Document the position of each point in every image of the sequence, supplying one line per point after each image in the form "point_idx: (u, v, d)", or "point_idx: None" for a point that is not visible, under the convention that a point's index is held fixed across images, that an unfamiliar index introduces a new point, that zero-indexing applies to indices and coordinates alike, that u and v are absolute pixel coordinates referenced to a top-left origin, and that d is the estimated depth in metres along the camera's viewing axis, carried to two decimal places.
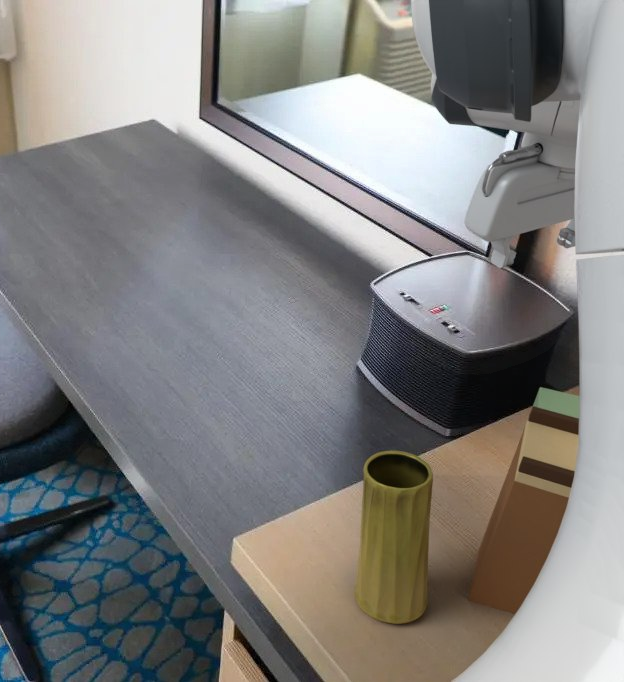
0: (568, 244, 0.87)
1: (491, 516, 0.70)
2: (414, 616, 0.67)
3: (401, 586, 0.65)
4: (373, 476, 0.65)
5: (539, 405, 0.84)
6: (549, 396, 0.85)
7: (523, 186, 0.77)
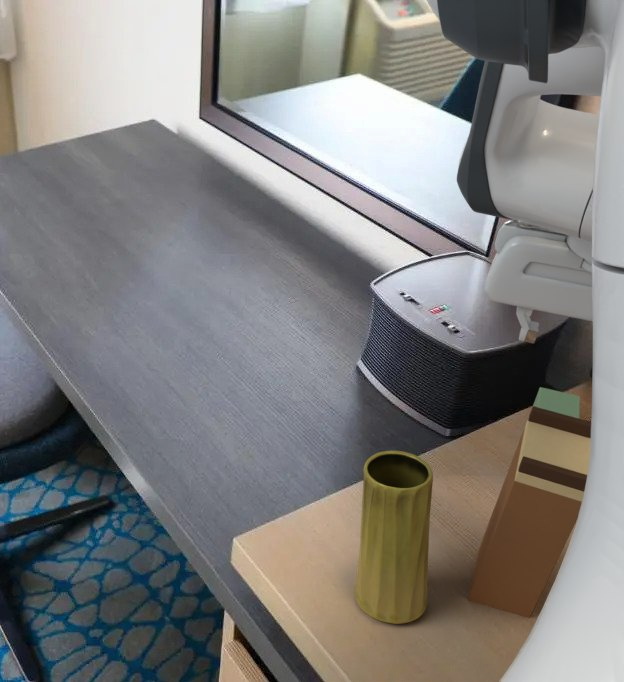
0: None
1: (491, 516, 0.70)
2: (414, 616, 0.67)
3: (401, 586, 0.65)
4: (373, 476, 0.65)
5: (539, 405, 0.84)
6: (549, 396, 0.85)
7: (529, 256, 0.75)
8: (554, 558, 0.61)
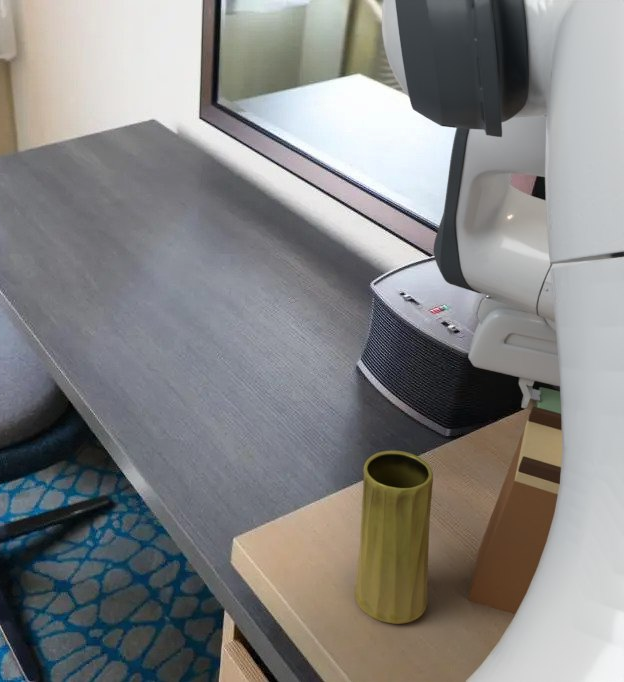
0: None
1: (491, 516, 0.70)
2: (414, 616, 0.67)
3: (401, 586, 0.65)
4: (373, 476, 0.65)
5: (539, 405, 0.84)
6: (548, 396, 0.85)
7: (509, 328, 0.80)
8: None
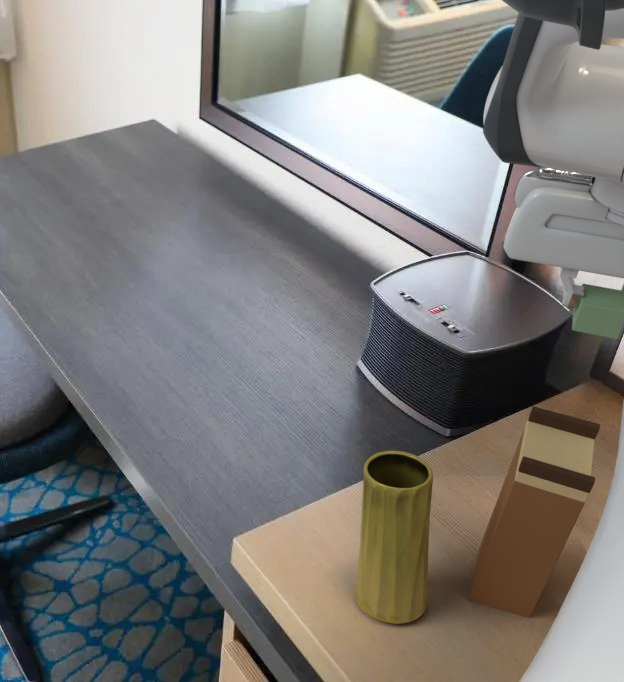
0: None
1: (491, 516, 0.70)
2: (414, 616, 0.67)
3: (401, 586, 0.65)
4: (373, 476, 0.65)
5: (583, 300, 0.76)
6: (593, 291, 0.77)
7: (551, 208, 0.72)
8: (554, 558, 0.61)
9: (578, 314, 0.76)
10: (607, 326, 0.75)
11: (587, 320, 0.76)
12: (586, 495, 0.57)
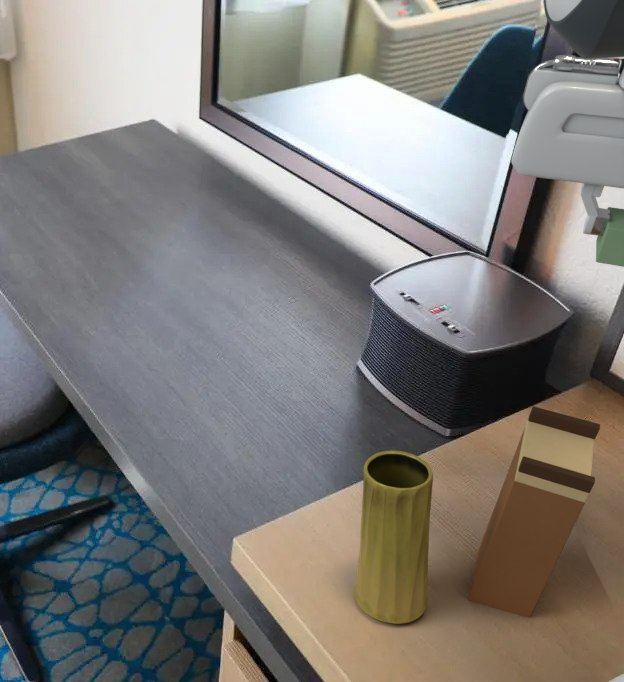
0: None
1: (491, 516, 0.70)
2: (414, 616, 0.67)
3: (401, 586, 0.65)
4: (373, 476, 0.65)
5: (609, 224, 0.62)
6: (621, 215, 0.63)
7: (570, 106, 0.59)
8: (554, 558, 0.61)
9: (603, 241, 0.63)
10: None
11: (615, 248, 0.62)
12: (586, 495, 0.57)
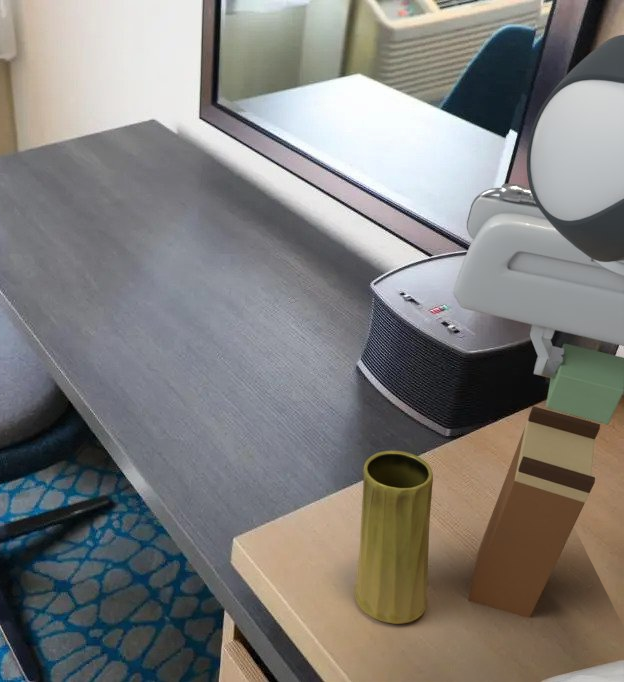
0: None
1: (491, 516, 0.70)
2: (414, 616, 0.67)
3: (401, 586, 0.65)
4: (373, 476, 0.65)
5: (561, 369, 0.55)
6: (577, 356, 0.56)
7: (516, 244, 0.51)
8: (554, 558, 0.61)
9: (554, 388, 0.55)
10: (594, 406, 0.54)
11: (567, 396, 0.55)
12: (586, 495, 0.57)
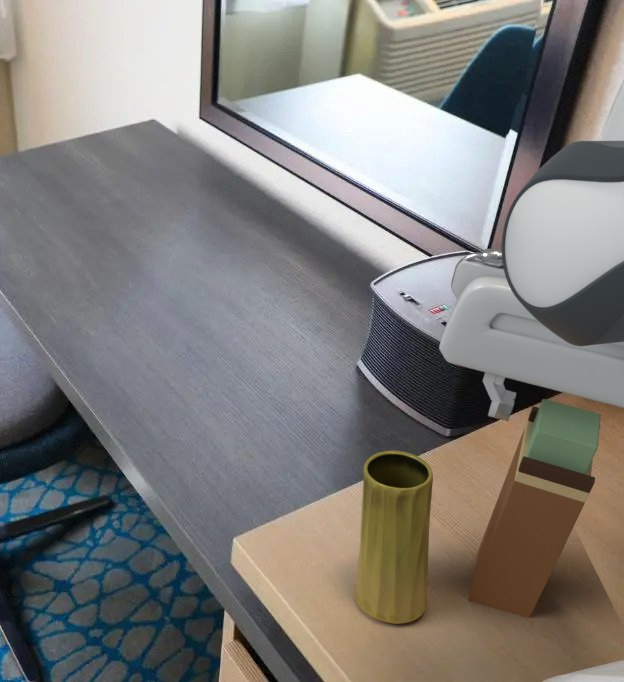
0: None
1: (491, 516, 0.70)
2: (414, 616, 0.67)
3: (401, 586, 0.65)
4: (373, 476, 0.65)
5: (539, 425, 0.58)
6: (554, 412, 0.59)
7: (497, 306, 0.54)
8: (554, 558, 0.61)
9: (533, 442, 0.58)
10: (570, 460, 0.58)
11: (545, 450, 0.58)
12: (586, 495, 0.57)
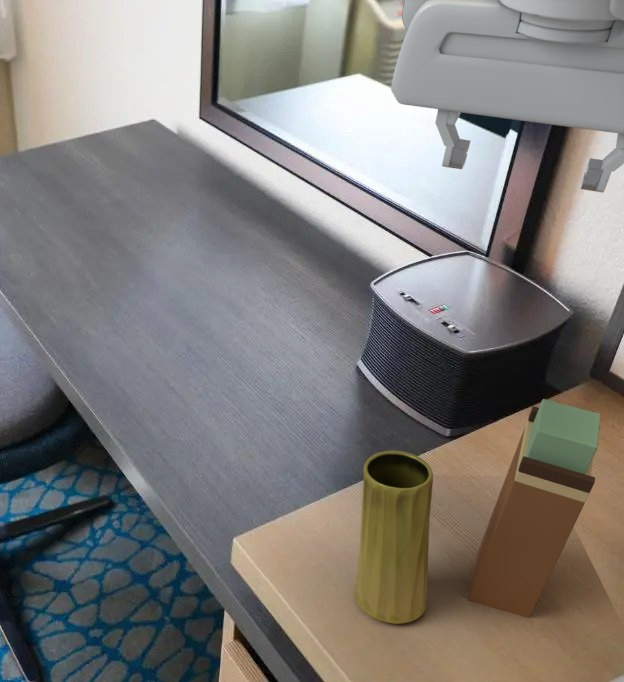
0: (582, 182, 0.55)
1: (491, 516, 0.70)
2: (414, 616, 0.67)
3: (401, 586, 0.65)
4: (373, 476, 0.65)
5: (539, 425, 0.58)
6: (554, 412, 0.59)
7: (446, 24, 0.53)
8: (554, 558, 0.61)
9: (533, 442, 0.58)
10: (570, 460, 0.58)
11: (545, 450, 0.58)
12: (586, 495, 0.57)
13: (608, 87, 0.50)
